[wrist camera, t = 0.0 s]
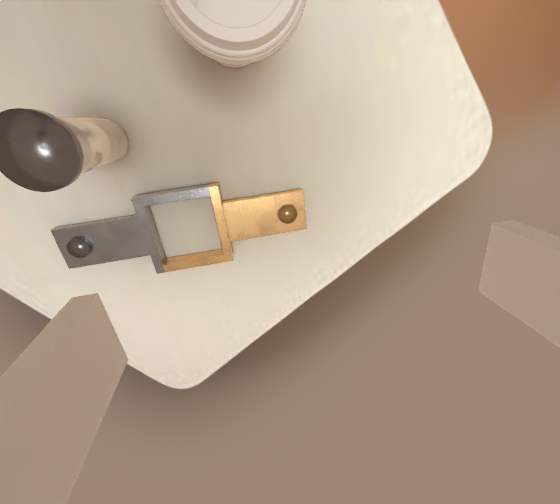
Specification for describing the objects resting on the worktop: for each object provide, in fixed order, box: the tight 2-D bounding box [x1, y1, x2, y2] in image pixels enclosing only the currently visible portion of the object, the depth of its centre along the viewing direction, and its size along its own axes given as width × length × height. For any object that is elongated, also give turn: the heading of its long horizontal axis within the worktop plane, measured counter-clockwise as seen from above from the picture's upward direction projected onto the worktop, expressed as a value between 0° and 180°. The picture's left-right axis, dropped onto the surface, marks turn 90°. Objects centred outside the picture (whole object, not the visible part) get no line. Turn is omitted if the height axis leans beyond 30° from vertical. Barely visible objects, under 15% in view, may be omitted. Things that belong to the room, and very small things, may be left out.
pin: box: [0, 108, 128, 192], centre depth 26 cm, size 5×5×13 cm
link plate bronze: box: [163, 183, 307, 272], centre depth 36 cm, size 10×19×2 cm, turn 97°
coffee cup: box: [159, 0, 306, 68], centre depth 23 cm, size 10×10×15 cm
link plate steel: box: [51, 184, 211, 274], centre depth 36 cm, size 10×19×2 cm, turn 97°
